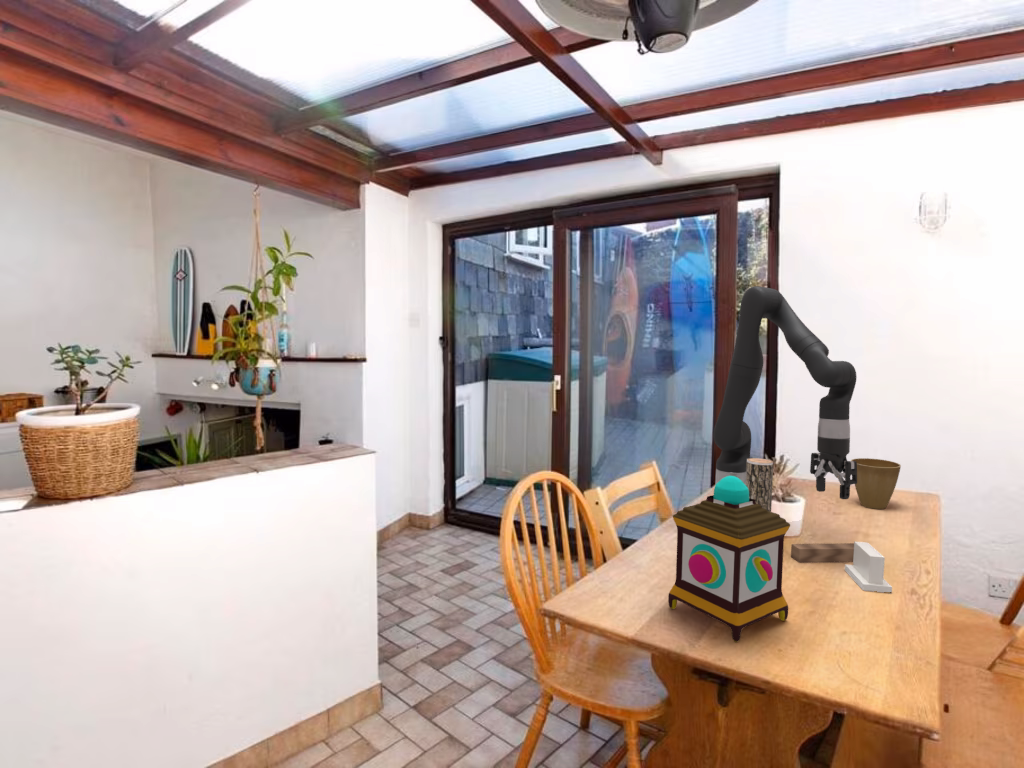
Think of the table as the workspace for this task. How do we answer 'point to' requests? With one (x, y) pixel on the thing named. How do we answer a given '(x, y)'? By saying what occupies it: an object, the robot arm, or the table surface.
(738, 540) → the decorative lantern
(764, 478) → the log stump
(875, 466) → the plant pot
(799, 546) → the walnut bar
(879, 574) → the white pedestal block
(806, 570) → the table surface
